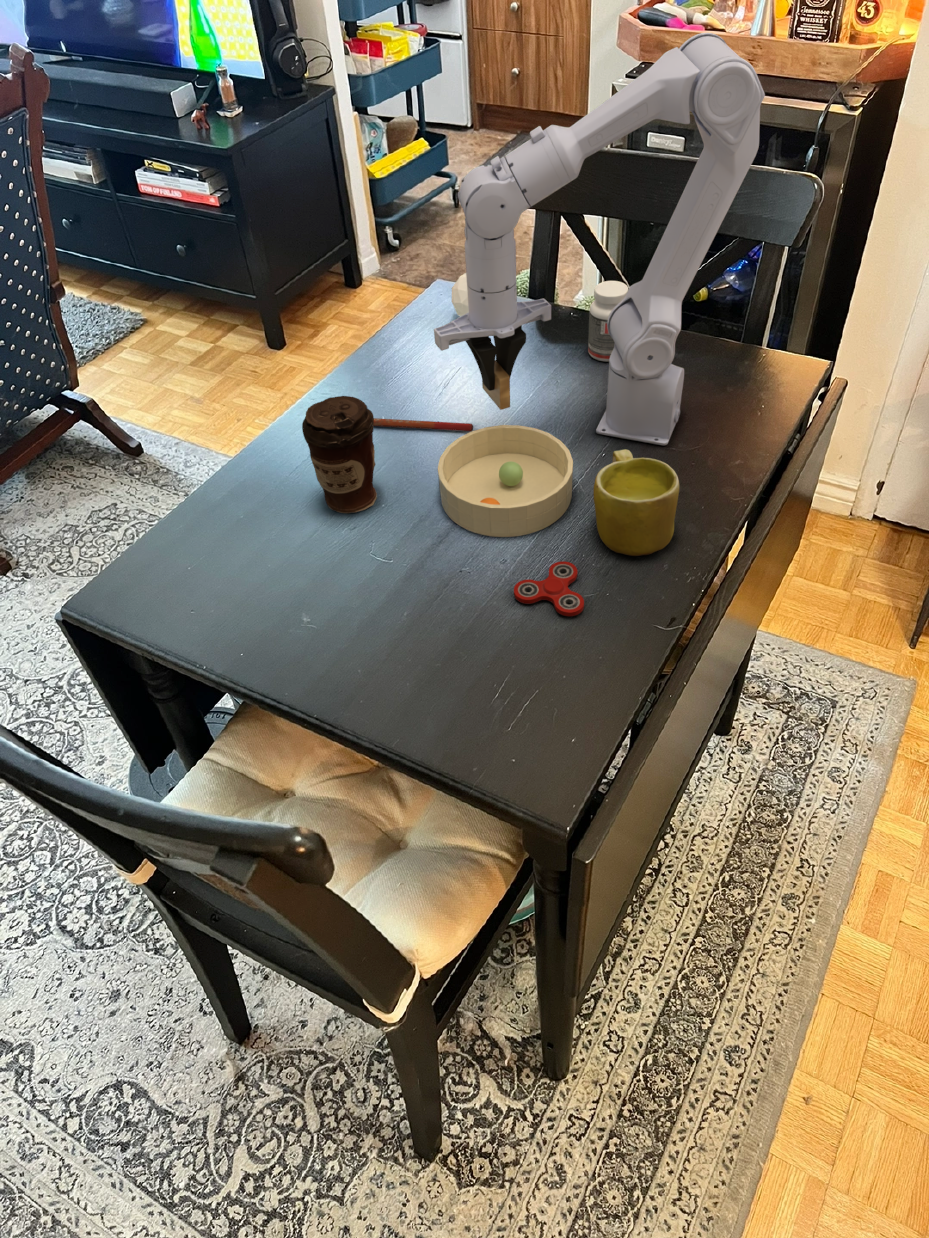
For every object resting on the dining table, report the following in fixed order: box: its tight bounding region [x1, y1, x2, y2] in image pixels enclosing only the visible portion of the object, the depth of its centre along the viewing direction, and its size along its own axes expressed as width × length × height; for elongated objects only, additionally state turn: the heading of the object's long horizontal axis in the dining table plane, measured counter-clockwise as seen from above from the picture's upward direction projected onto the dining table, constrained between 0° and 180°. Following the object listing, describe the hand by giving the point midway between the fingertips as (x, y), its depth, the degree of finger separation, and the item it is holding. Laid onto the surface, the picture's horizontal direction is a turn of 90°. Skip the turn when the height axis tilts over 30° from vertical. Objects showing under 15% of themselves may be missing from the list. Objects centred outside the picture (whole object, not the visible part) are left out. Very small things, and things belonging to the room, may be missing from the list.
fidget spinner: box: [513, 560, 585, 617], centre depth 100 cm, size 8×7×1 cm
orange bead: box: [480, 498, 500, 505], centre depth 108 cm, size 3×3×3 cm
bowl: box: [437, 424, 574, 538], centre depth 111 cm, size 16×16×4 cm
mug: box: [593, 448, 680, 557], centre depth 104 cm, size 12×10×10 cm
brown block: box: [481, 359, 511, 411], centre depth 114 cm, size 1×6×4 cm, turn 24°
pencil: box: [373, 417, 474, 432], centre depth 123 cm, size 19×1×1 cm, turn 80°
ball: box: [451, 272, 469, 317], centre depth 140 cm, size 8×8×8 cm
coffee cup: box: [301, 395, 378, 514], centre depth 109 cm, size 9×8×13 cm
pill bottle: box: [587, 280, 629, 363], centre depth 130 cm, size 6×6×10 cm
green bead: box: [499, 461, 523, 486], centre depth 112 cm, size 3×3×3 cm
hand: (495, 384), depth 115 cm, fingers closed on brown block, 1 cm apart
